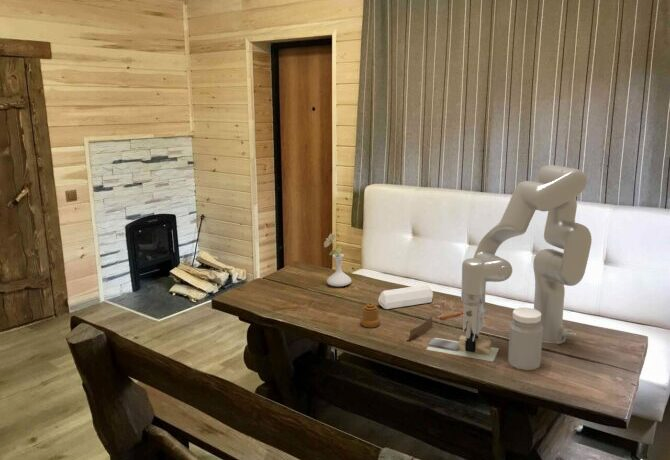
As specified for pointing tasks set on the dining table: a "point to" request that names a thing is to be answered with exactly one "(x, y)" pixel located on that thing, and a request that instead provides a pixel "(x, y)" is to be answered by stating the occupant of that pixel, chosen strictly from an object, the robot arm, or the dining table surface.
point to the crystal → (405, 296)
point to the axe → (457, 314)
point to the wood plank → (421, 329)
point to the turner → (462, 345)
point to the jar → (525, 339)
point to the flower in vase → (337, 266)
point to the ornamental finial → (370, 316)
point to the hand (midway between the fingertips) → (471, 348)
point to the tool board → (467, 354)
